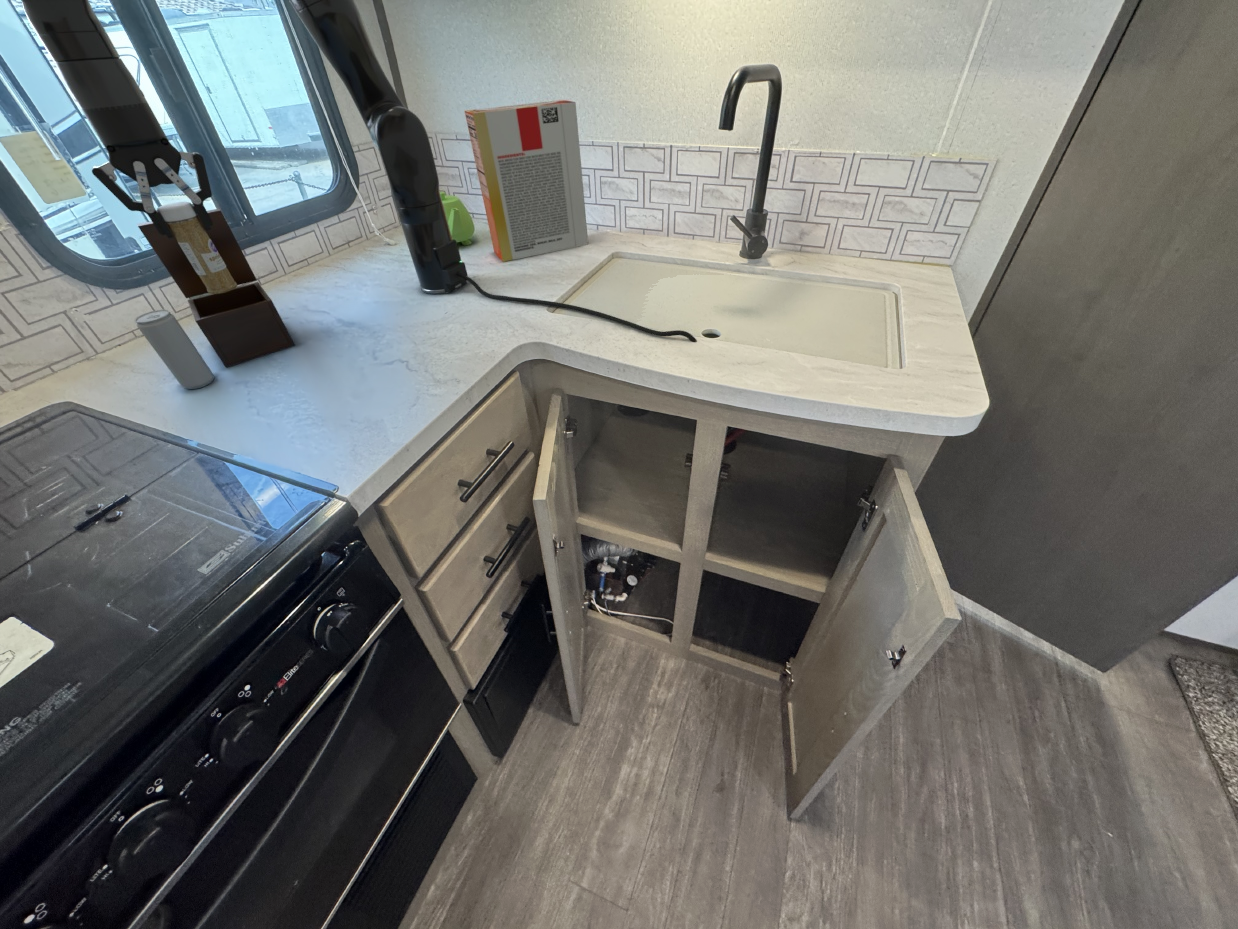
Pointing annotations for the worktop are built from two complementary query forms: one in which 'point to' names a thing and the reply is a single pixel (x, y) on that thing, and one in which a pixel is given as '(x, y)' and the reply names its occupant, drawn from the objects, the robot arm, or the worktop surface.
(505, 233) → the pasta box
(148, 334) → the beverage can
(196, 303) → the chest
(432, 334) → the worktop surface
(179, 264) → the lid
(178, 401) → the worktop surface
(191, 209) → the sprinkles bottle
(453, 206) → the teapot
